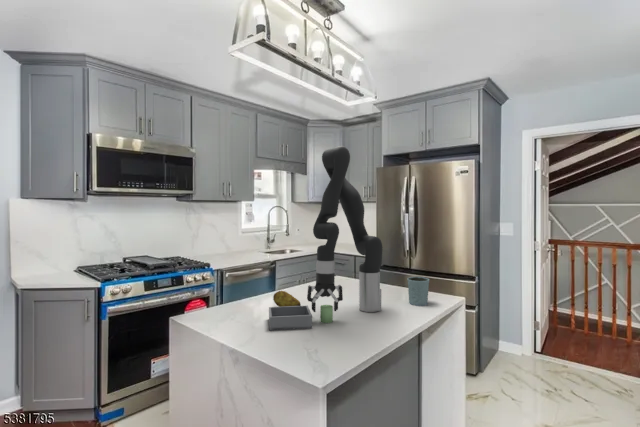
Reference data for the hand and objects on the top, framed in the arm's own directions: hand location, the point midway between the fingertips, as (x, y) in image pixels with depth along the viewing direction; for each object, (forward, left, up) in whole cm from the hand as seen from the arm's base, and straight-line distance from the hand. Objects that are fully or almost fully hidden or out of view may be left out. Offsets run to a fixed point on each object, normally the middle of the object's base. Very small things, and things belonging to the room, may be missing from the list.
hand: (324, 311), depth 146 cm
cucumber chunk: (-1, 0, -4) cm, 4 cm away
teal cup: (-49, -19, -4) cm, 52 cm away
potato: (+14, -19, -4) cm, 24 cm away
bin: (+14, +1, -4) cm, 15 cm away
